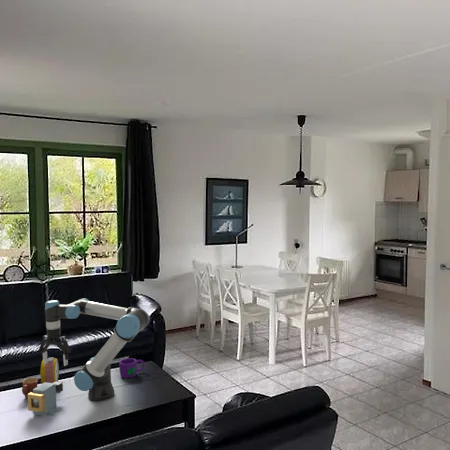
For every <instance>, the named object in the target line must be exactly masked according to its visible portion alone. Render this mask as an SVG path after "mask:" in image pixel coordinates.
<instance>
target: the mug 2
mask: <svg viewBox="0 0 450 450" xmlns="http://www.w3.org/2000/svg"><path fill="white" fill-rule="evenodd" d="M118 363H119V364H118V365H119V366H118V367H119V374H120V377H121V378H122V379H132V378H134V377H136V376H137V373H138V372H141V371H143V370H144V369H145V367H146V364H145V361H144V360H143V359H136V358H132V357H131V358H130V357H129V358H123V359H121V360H119V361H118ZM138 363H141V364H142V366H141V367H140V368H139V369H138Z"/></svg>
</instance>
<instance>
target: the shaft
mask: <svg viewBox="0 0 450 450" xmlns="http://www.w3.org/2000/svg"><path fill="white" fill-rule="evenodd" d="M54 383H55V385H56V394H60V393H61V392H62V391H64V385H63V384H64V383H63V382H62V381H58V382H54ZM33 403H34V404H38V403H39V399H33Z"/></svg>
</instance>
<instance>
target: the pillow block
mask: <svg viewBox="0 0 450 450" xmlns="http://www.w3.org/2000/svg"><path fill="white" fill-rule="evenodd" d="M33 393H40V394H45V408H46V410H45V411H44V412H36V411H32V413H33V414H34V415H36V416H43V417H46V416H47V415H50V416H51V415H53V414H54V413H56V412H58V411H59V407H57V393H56V385H55V383H46V382H45V383H43V384H41V383H40V384H39V385H37V387H36V388H35V389H33ZM34 405H36V406H39V403H38V404H34Z"/></svg>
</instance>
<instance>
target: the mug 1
mask: <svg viewBox="0 0 450 450" xmlns="http://www.w3.org/2000/svg"><path fill="white" fill-rule="evenodd" d="M38 382H39V377H28V378H25V379H24V380H22V388H21V392H22V395H23V396H24V398H25V399H26V400H28V394H29V393H30V392H32V393H33V389H35V388H36V387H38Z"/></svg>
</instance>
